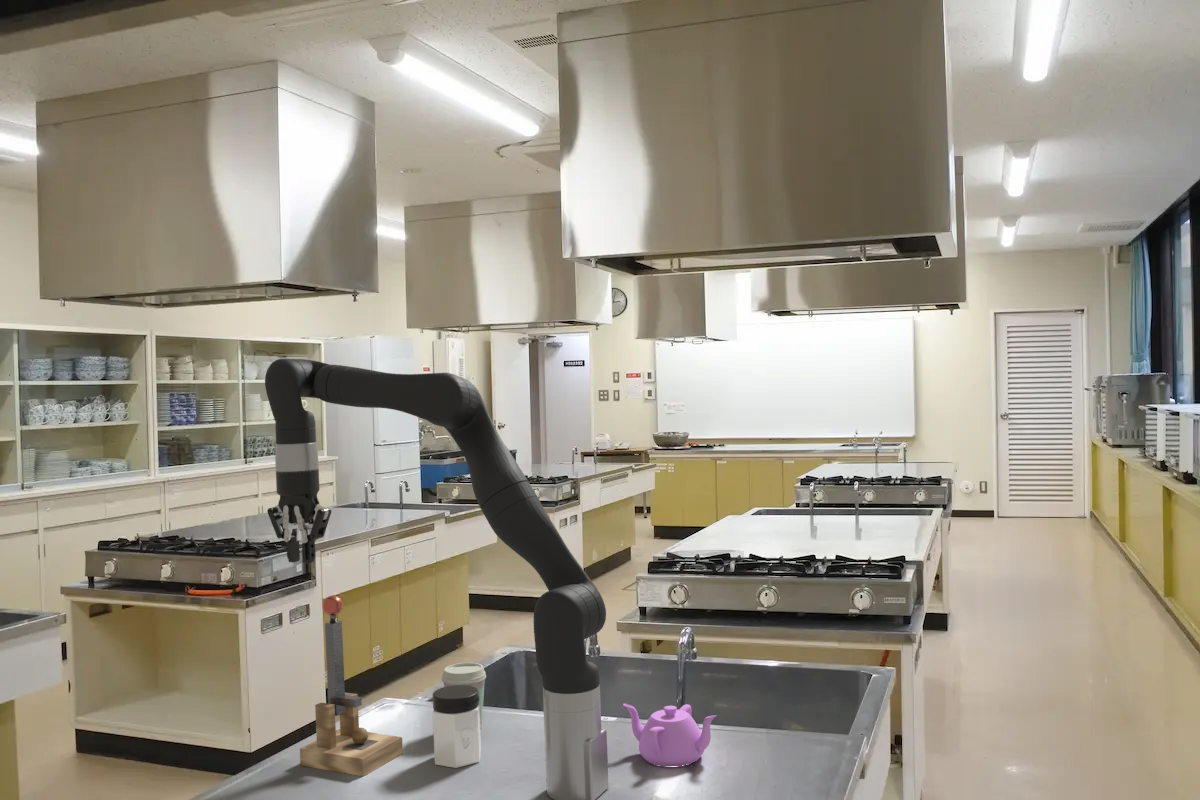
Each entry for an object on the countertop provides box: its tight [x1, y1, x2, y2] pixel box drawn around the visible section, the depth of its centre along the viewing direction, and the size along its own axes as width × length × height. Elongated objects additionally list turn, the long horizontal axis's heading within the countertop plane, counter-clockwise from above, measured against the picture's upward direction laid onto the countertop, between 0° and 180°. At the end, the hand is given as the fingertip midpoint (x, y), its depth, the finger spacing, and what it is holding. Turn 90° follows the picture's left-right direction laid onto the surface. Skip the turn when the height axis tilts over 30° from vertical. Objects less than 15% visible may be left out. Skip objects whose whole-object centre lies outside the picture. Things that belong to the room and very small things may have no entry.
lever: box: [322, 594, 363, 717], centre depth 176 cm, size 7×4×21 cm, turn 64°
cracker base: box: [299, 692, 404, 777], centre depth 176 cm, size 14×11×10 cm
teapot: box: [622, 703, 717, 766], centre depth 172 cm, size 12×14×9 cm
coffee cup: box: [441, 662, 487, 731], centre depth 189 cm, size 8×9×12 cm
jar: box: [432, 685, 482, 769], centre depth 174 cm, size 9×8×12 cm
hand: (301, 561), depth 180 cm, fingers open, 3 cm apart
